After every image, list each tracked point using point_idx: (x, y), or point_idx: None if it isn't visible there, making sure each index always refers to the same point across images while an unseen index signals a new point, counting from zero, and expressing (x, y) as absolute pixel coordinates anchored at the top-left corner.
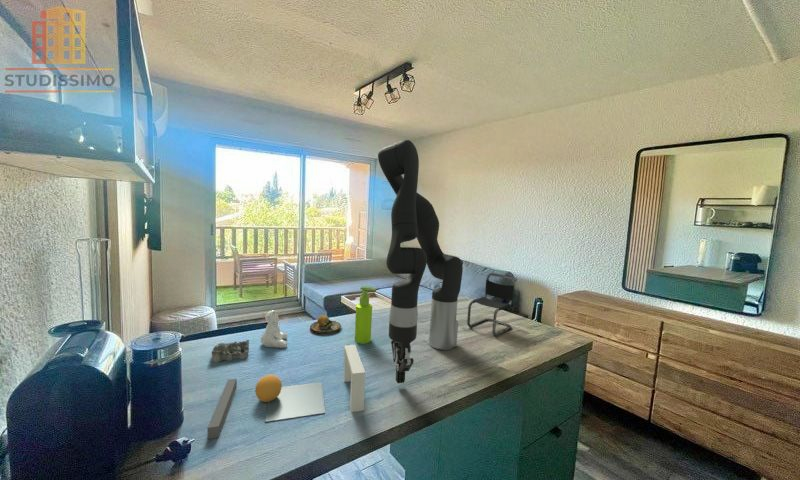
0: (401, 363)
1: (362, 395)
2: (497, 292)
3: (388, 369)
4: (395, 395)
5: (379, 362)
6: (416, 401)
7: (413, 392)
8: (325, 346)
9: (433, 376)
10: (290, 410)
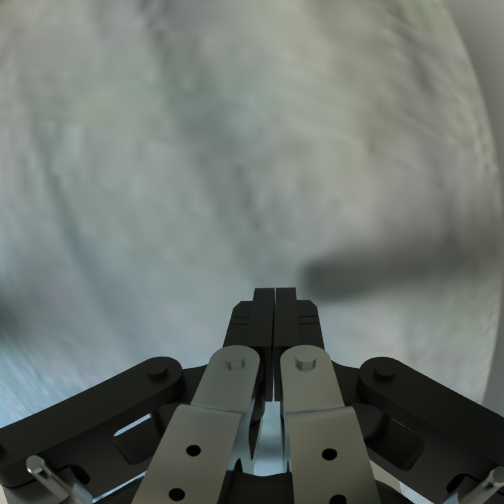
0: (423, 491)
1: (396, 482)
2: None
3: (90, 298)
4: (351, 331)
5: (43, 318)
6: (436, 236)
7: (357, 224)
8: (19, 419)
9: (190, 24)
10: None
